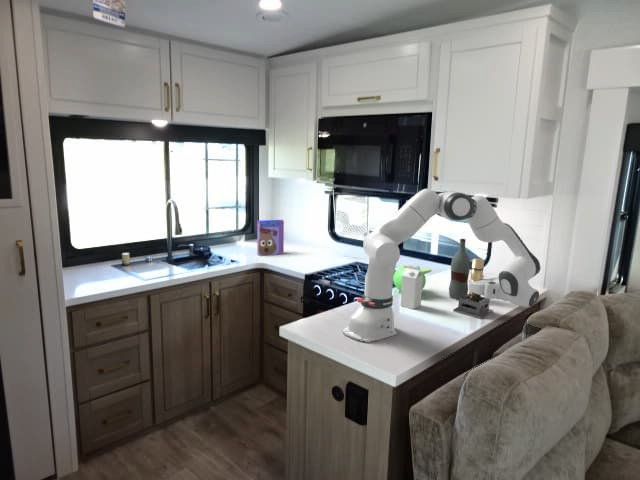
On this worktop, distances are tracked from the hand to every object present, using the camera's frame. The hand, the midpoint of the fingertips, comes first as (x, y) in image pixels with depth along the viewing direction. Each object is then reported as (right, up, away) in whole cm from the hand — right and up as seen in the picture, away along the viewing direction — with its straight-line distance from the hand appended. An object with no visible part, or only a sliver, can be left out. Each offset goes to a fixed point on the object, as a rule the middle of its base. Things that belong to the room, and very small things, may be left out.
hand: (474, 280), depth 200 cm
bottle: (-1, -11, +22) cm, 25 cm away
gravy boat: (-24, -9, +29) cm, 38 cm away
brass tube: (0, -12, +2) cm, 12 cm away
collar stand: (0, -15, +2) cm, 15 cm away
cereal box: (-105, +8, +106) cm, 149 cm away
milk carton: (-28, -13, +8) cm, 31 cm away
